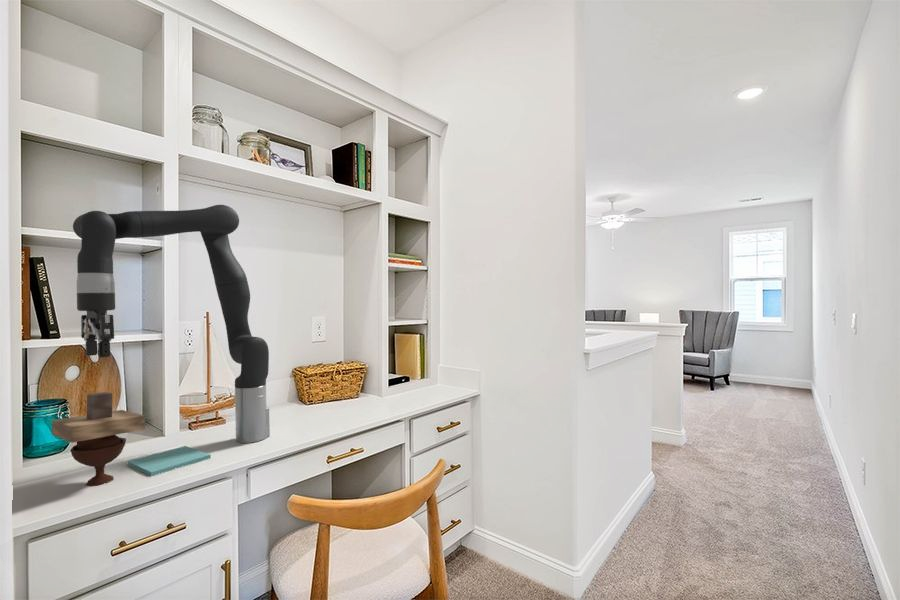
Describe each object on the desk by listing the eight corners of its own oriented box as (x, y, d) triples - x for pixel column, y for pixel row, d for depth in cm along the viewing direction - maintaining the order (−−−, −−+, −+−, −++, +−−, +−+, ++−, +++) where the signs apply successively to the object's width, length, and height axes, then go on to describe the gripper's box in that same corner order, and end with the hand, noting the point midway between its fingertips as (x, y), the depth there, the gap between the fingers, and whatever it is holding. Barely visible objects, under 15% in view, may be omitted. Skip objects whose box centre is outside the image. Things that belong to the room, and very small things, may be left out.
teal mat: (185, 449, 134) (185, 445, 134) (210, 458, 126) (210, 454, 126) (127, 464, 122) (127, 461, 122) (151, 476, 113) (151, 472, 113)
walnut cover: (121, 422, 121) (122, 387, 121) (144, 429, 112) (145, 391, 113) (51, 434, 109) (52, 395, 109) (71, 442, 100) (72, 400, 101)
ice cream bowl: (132, 479, 111) (131, 420, 111) (75, 494, 103) (73, 430, 103) (122, 469, 118) (120, 413, 118) (67, 483, 110) (66, 423, 110)
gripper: (125, 290, 110) (126, 355, 110) (103, 292, 118) (105, 353, 118) (87, 290, 103) (89, 359, 103) (67, 292, 112) (69, 356, 112)
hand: (97, 356), depth 111 cm, fingers open, 8 cm apart
